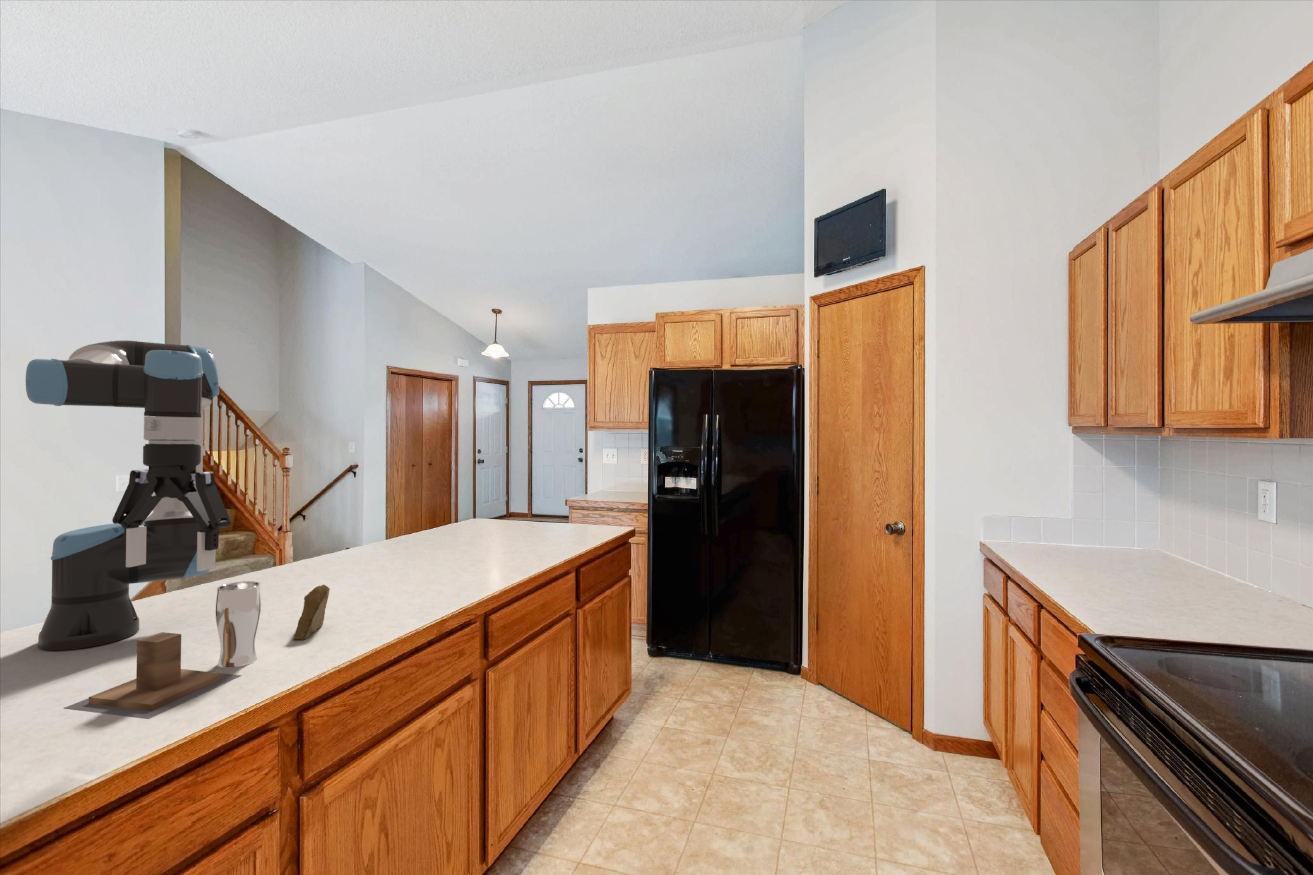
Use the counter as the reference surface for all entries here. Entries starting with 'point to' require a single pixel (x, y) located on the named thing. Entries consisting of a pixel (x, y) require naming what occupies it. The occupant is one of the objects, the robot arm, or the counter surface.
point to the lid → (156, 677)
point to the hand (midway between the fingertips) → (170, 567)
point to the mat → (146, 714)
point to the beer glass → (237, 622)
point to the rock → (312, 612)
